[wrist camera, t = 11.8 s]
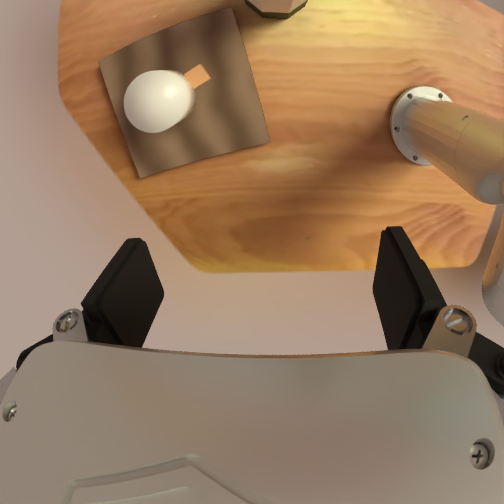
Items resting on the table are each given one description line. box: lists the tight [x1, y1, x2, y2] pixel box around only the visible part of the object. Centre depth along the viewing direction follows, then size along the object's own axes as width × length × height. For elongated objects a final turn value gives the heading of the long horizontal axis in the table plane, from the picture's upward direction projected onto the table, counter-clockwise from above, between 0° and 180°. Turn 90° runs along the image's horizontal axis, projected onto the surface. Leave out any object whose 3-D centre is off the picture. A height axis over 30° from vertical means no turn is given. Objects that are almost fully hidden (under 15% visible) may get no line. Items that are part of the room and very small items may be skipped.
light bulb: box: [124, 64, 211, 133], centre depth 28 cm, size 7×9×5 cm
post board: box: [98, 7, 270, 178], centre depth 33 cm, size 20×20×6 cm
